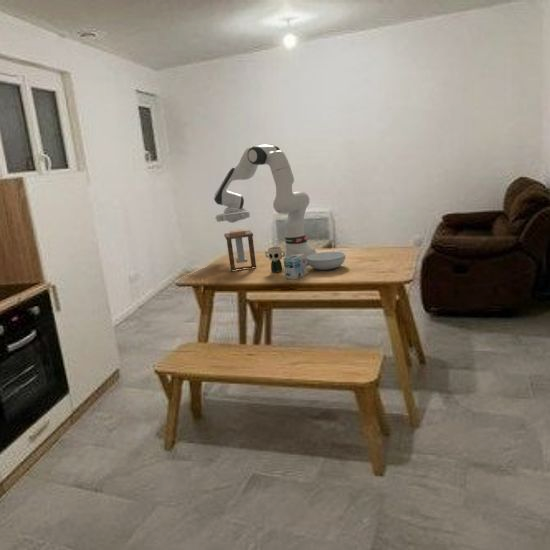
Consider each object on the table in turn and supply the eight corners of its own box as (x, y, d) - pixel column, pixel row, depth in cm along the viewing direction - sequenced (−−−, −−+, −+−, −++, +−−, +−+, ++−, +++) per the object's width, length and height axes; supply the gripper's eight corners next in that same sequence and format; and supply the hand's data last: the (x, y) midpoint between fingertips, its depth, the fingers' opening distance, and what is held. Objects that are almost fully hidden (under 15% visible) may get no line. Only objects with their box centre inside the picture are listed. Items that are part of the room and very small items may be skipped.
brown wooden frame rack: (228, 267, 289) (224, 233, 284) (253, 263, 291) (249, 230, 286) (230, 272, 276) (226, 237, 271) (257, 268, 278) (252, 233, 273)
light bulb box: (295, 279, 245) (293, 258, 242) (284, 278, 249) (282, 258, 246) (307, 274, 253) (305, 253, 250) (296, 273, 257) (294, 253, 254)
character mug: (265, 273, 264) (262, 249, 261) (269, 270, 271) (266, 247, 267) (284, 272, 261) (282, 248, 258) (288, 269, 267) (285, 246, 264)
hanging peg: (234, 261, 287) (230, 230, 282) (247, 259, 288) (243, 228, 284) (235, 263, 279) (231, 232, 275) (249, 261, 280) (245, 230, 276)
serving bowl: (348, 262, 268) (347, 250, 266) (343, 272, 248) (342, 259, 247) (311, 264, 274) (310, 252, 272) (303, 273, 254) (302, 261, 253)
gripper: (214, 212, 301) (215, 214, 288) (247, 207, 304) (250, 209, 291) (215, 222, 303) (217, 225, 289) (248, 218, 306) (251, 220, 292)
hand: (234, 217), depth 290 cm, fingers open, 8 cm apart
